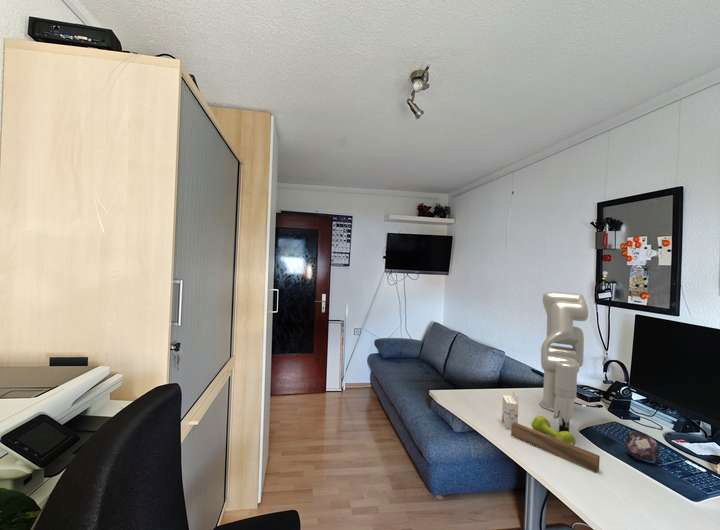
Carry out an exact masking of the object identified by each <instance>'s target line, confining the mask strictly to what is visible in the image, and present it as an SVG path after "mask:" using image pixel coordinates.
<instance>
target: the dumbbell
mask: <svg viewBox="0 0 720 530" xmlns="http://www.w3.org/2000/svg"><path fill="white" fill-rule="evenodd" d="M550 424H551V423H550V422H549V420H548V418H546V417H545V416H543V415H539V416H535V417H534V418H533V420H532V422H531V429H533V430H536V431H539V432H541V433H544V434H546V435H549V436H551V437H554V438H556V439H559V440H561V441H564V442H566V443H569V444H571V445H574V446H576V443H577V442H576V439H575V437H574V435H573V433H571V432H570V431H569V432H568V431H561V432H559V431H557V430H555V429H554V428H552V427H551V425H550Z"/></svg>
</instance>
